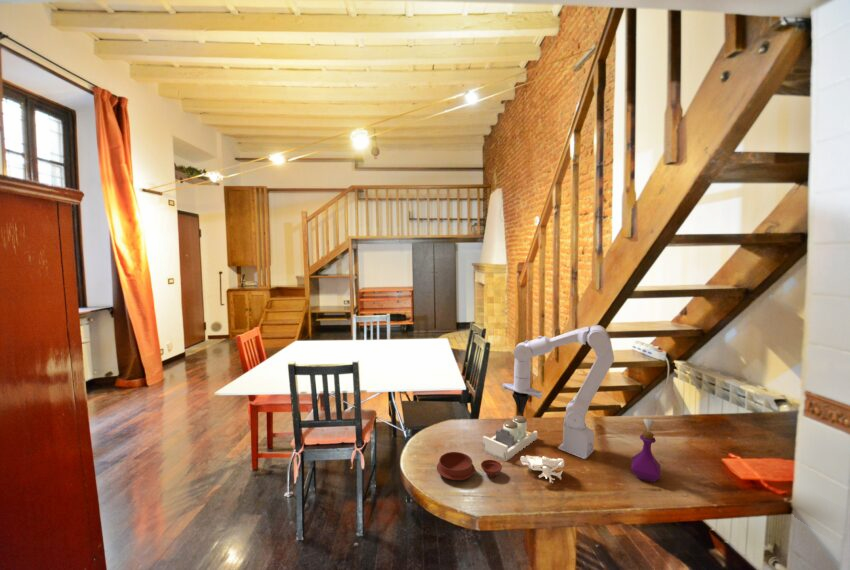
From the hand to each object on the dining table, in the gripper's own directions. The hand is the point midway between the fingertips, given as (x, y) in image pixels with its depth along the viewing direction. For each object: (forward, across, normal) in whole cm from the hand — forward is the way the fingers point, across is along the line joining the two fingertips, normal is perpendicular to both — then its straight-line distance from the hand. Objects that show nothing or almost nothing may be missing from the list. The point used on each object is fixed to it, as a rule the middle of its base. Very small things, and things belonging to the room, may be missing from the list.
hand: (521, 412), depth 133 cm
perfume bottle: (+10, -39, -2) cm, 41 cm away
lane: (+10, +1, +6) cm, 12 cm away
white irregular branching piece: (+10, -15, +16) cm, 24 cm away
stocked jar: (+9, +1, +7) cm, 11 cm away
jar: (+9, 0, +1) cm, 9 cm away
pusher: (+9, +1, +10) cm, 14 cm away
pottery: (+10, +3, +30) cm, 32 cm away
